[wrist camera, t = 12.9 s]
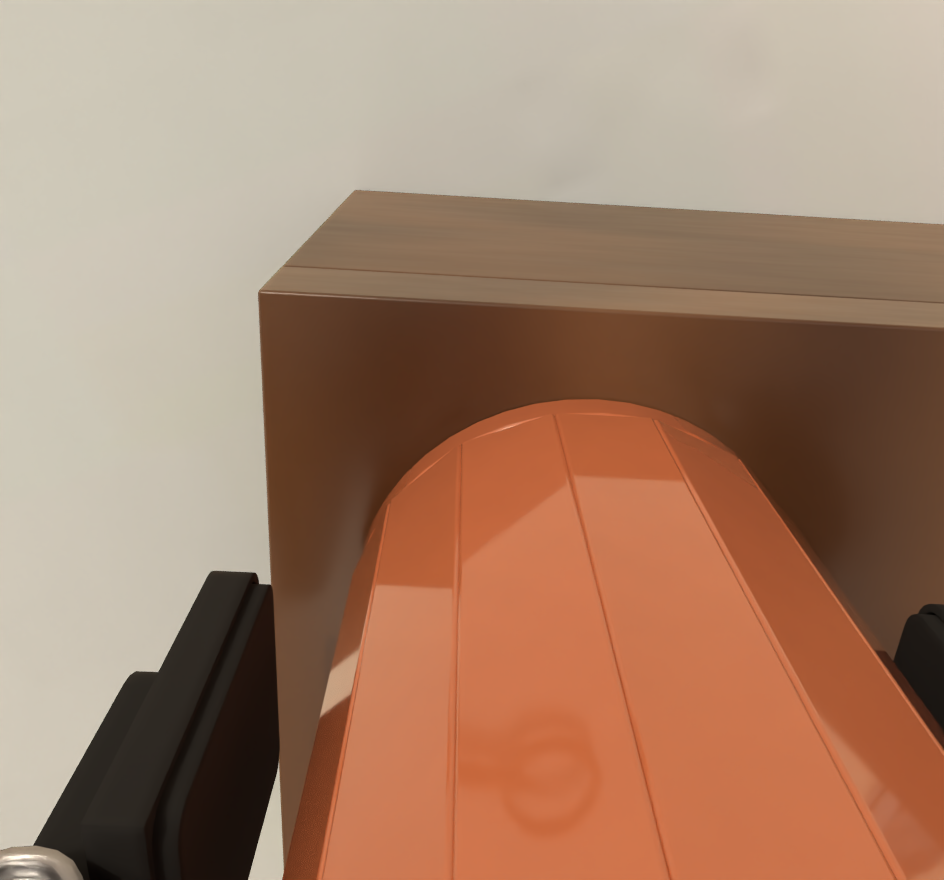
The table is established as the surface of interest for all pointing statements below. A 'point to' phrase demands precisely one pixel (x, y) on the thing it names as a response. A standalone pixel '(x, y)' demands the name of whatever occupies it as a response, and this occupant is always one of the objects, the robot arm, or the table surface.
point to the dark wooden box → (598, 381)
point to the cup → (608, 677)
